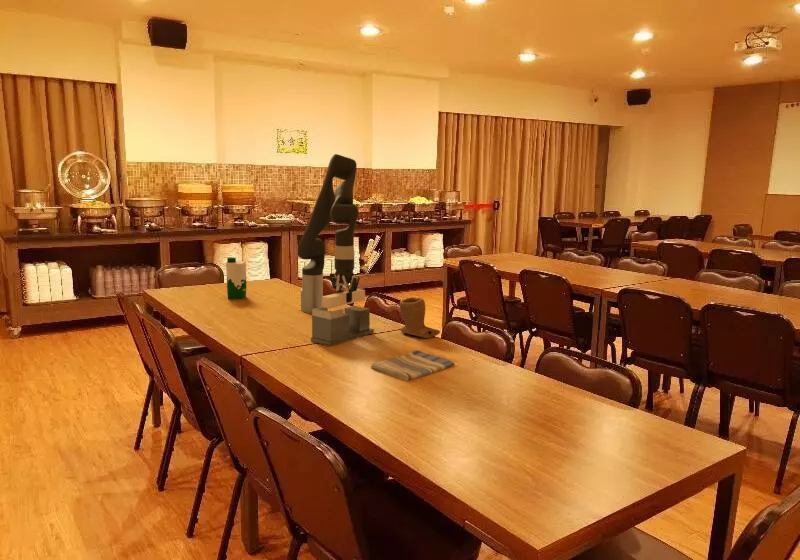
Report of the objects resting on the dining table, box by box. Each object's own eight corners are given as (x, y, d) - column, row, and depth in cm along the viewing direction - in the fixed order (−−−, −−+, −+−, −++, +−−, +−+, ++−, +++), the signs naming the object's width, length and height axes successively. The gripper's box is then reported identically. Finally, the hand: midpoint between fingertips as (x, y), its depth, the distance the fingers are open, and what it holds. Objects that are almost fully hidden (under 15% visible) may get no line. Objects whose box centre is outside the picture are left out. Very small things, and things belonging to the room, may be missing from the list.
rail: (322, 307, 228) (321, 296, 227) (357, 298, 243) (357, 288, 243) (329, 308, 225) (329, 298, 225) (364, 300, 241) (365, 290, 240)
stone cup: (392, 333, 242) (393, 297, 240) (414, 329, 250) (415, 293, 248) (419, 342, 231) (420, 303, 229) (440, 336, 239) (442, 299, 237)
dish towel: (368, 370, 200) (368, 361, 199) (418, 355, 216) (418, 348, 216) (406, 383, 188) (406, 374, 187) (455, 367, 204) (455, 359, 204)
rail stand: (310, 341, 229) (310, 309, 227) (354, 328, 249) (355, 298, 247) (330, 346, 224) (330, 313, 221) (373, 332, 243) (374, 302, 241)
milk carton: (230, 295, 307) (229, 256, 303) (248, 296, 307) (247, 257, 303) (225, 299, 298) (224, 259, 295) (243, 299, 298) (242, 259, 295)
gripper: (324, 256, 232) (324, 300, 236) (351, 260, 224) (351, 305, 227) (337, 254, 238) (337, 297, 241) (365, 258, 230) (364, 302, 233)
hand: (344, 301), depth 234 cm, fingers closed on rail, 4 cm apart
